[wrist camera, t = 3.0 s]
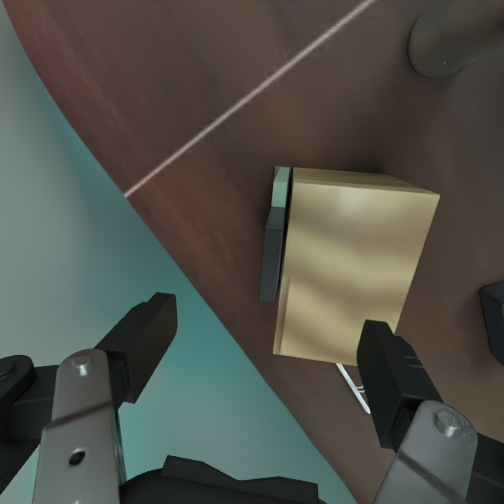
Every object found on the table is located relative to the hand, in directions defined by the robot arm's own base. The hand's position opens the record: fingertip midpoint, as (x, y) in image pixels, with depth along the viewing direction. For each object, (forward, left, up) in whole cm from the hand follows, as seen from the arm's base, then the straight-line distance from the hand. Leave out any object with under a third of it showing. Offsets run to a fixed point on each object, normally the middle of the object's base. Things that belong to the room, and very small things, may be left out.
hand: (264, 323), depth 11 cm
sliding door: (0, 0, -21) cm, 21 cm away
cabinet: (+5, +5, -22) cm, 23 cm away
